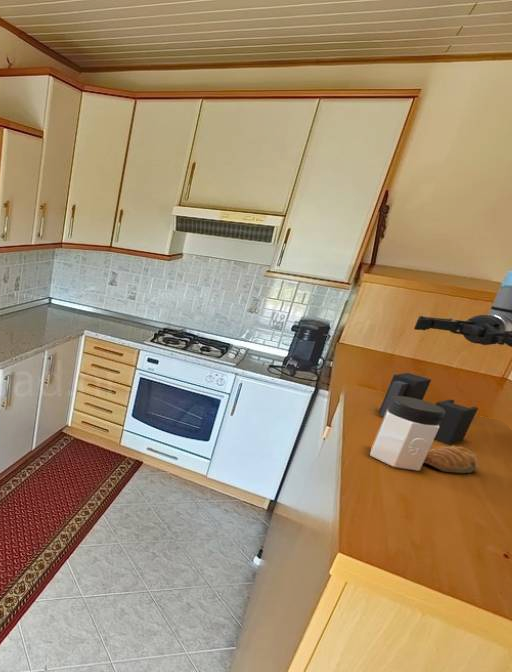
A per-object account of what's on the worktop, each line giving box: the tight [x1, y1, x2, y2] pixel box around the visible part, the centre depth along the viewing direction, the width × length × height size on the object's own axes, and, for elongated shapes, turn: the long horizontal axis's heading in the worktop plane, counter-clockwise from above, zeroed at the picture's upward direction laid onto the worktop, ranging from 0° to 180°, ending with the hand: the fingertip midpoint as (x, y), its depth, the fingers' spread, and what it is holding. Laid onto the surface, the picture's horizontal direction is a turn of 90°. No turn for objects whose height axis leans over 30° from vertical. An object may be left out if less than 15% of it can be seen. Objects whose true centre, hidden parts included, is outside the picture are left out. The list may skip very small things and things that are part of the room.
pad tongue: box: [378, 372, 432, 418], centre depth 120 cm, size 10×5×10 cm, turn 117°
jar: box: [369, 396, 445, 472], centre depth 94 cm, size 9×8×12 cm
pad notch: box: [434, 398, 479, 445], centre depth 109 cm, size 7×5×8 cm
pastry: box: [423, 445, 479, 474], centre depth 95 cm, size 9×7×4 cm
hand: (449, 331), depth 119 cm, fingers open, 13 cm apart
